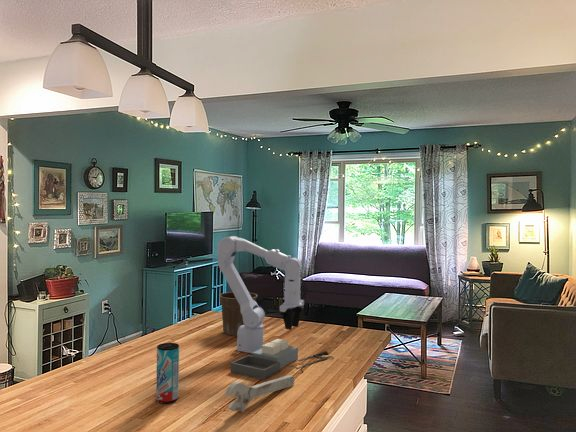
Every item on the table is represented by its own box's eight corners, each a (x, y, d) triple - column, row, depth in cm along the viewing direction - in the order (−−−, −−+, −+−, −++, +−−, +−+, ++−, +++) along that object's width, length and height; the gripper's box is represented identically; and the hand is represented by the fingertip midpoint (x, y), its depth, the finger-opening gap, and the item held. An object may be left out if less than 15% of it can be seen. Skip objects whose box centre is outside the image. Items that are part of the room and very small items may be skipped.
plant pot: (249, 326, 211) (250, 290, 210) (262, 335, 196) (263, 297, 195) (214, 329, 204) (214, 292, 204) (224, 339, 189) (225, 299, 189)
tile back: (270, 348, 164) (270, 341, 164) (277, 345, 168) (277, 338, 168) (281, 350, 162) (281, 343, 162) (288, 347, 166) (288, 340, 166)
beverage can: (154, 397, 130) (155, 344, 130) (176, 394, 133) (176, 341, 133) (157, 405, 125) (158, 350, 125) (180, 402, 127) (181, 347, 127)
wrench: (293, 394, 142) (228, 418, 117) (288, 392, 143) (222, 416, 118) (295, 367, 143) (231, 385, 118) (291, 366, 144) (225, 383, 119)
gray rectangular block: (252, 364, 160) (252, 352, 159) (274, 353, 172) (274, 342, 171) (276, 369, 154) (277, 357, 154) (297, 358, 166) (297, 347, 166)
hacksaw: (325, 353, 174) (325, 349, 174) (346, 360, 167) (346, 356, 167) (276, 367, 158) (276, 363, 158) (297, 376, 150) (297, 371, 150)
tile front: (261, 352, 160) (261, 345, 160) (269, 349, 163) (269, 342, 163) (272, 354, 157) (273, 347, 157) (279, 351, 161) (280, 344, 161)
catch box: (230, 371, 152) (230, 362, 152) (247, 363, 160) (247, 355, 160) (263, 380, 145) (264, 370, 145) (280, 371, 153) (280, 362, 153)
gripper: (291, 295, 164) (291, 333, 164) (311, 289, 176) (310, 325, 176) (274, 293, 167) (274, 330, 168) (295, 287, 180) (294, 322, 180)
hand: (291, 327), depth 172 cm, fingers open, 4 cm apart
